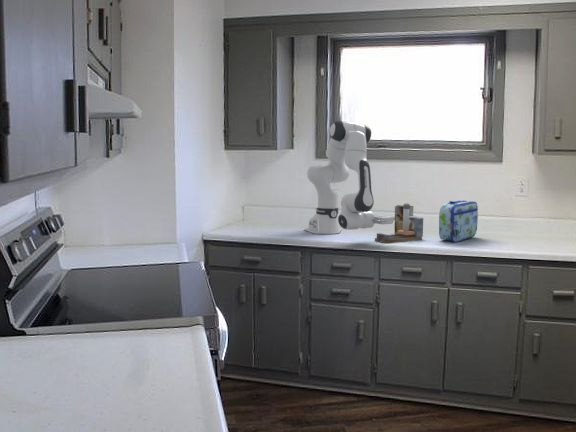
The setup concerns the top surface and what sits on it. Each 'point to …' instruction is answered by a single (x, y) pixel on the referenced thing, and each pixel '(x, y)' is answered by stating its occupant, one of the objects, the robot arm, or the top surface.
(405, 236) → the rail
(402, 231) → the white column brown base
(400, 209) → the coffee box
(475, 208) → the lunch box
